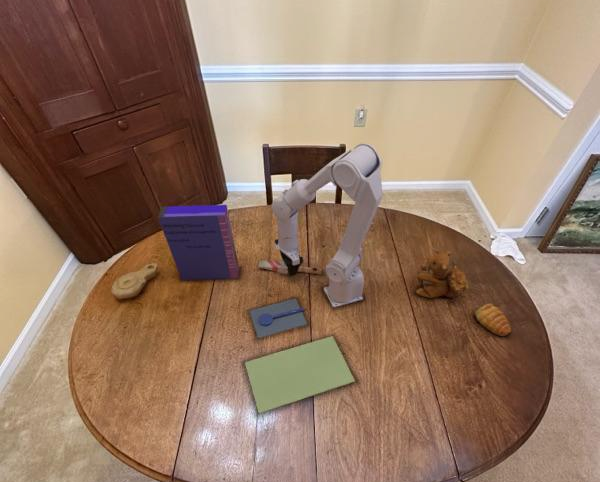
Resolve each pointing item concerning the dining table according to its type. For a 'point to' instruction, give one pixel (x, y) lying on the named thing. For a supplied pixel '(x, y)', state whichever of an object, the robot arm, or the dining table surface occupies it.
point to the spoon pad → (280, 322)
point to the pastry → (493, 319)
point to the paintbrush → (285, 267)
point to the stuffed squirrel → (441, 278)
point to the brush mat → (297, 374)
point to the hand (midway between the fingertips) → (289, 266)
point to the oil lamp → (133, 282)
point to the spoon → (275, 316)
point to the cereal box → (200, 241)
